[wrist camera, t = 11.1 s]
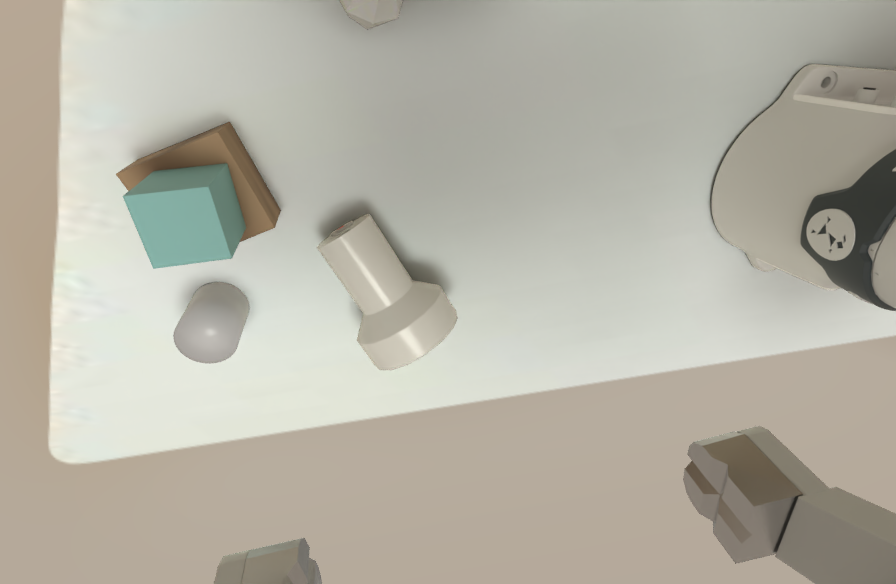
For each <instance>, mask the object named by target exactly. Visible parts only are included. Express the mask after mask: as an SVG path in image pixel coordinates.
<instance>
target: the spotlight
mask: <svg viewBox="0 0 896 584" xmlns="http://www.w3.org/2000/svg"><path fill="white" fill-rule="evenodd" d="M317 249H318V250H319V251H320V253H321V254H322V256H323V257H324V258H325V260H326V261H327V263H328V264H329V266H330V267H331V268H332V270H333V271H334V273H335V274H336V275H337V277H338V278H339V280H340V281H341V283H342V284H343V285H344V287H345V288H346V290H347V291H348V293H349V294H350V295H351V297H352V298H353V300H354V301H355V302H356V304H357V305H358V307H359V308H360V310H361V311H362V312H363V316H362V321H361V325H360V329H359V333H358V337H357V341H358V343H359V344H360V346H361V347H362V348H363V350H364V351H365V352H366V354H367V355H368V357H369V358H370V359H371V361H372V362H373V363H374V365H375V366H376V367H377V368H378V369H379V370H393V369H396V368H399V367H402V366H405V365H408V364H410V363H412V362H413V361H415V360H417V359H419V358H420V357H422V356H424V355H426V354H427V353H428V352H429V351H431V350H432V349H433V348H434V347H436V346H437V345H438V344H440V343H441V342H442V341H443V340H444V339H445V337H446V336H447V335H448V334H449V333H450V332H451V330H452V329H453V328H454V325H455V323H456V321H457V319H458V317H457V313H456V310H455V309H454V307H453V306H452V304H451V302H450V301H449V299H448V298H447V296H446V294H445V293H444V291H443V290H442V288H441V286H440V285H436V284H432V283H425V282H419V281H413V280H412V279H411V277H410V276H409V274H408V273H407V271H406V269H405V268H404V266H403V265H402V263H401V262H400V260H399V259H398V257H397V256H396V254H395V252H394V251H393V249H392V248H391V246H390V245H389V243H388V242H387V240H386V238H385V237H384V235H383V234H382V232H381V231H380V229H379V228H378V226H377V224H376V223H375V221H374V220H373V218H372V217H371V215H370V214H366V215H364V216H361V217H359V218H358V219H356V220H354V221H352V220H351V221H349V222H348V223H346V224H345V225H343V226H341V227H340V228H338V229H337V230H335V231H334V232H332V233H331V234H330V236H329V237H328V238H326V239H325V240H324V241H322V242H321V243H320V244H319V245H318V246H317Z"/></svg>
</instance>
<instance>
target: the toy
mask: <svg viewBox="0 0 896 584" xmlns="http://www.w3.org/2000/svg"><path fill="white" fill-rule="evenodd" d="M339 1H340V3H341V4H342V6H343V8H344V9H345V11H346V13H347V14H348V16H349V17H350V18H351V19H353V20H354V21H356V22H357V23H359V24H360V25H362V26H363V27H364V28H366V29H370V28H373V27H375V26H378V25H381V24H384V23H386V22H389V21H392V20H395V19H397V18H399V14H400V10H401V5H402V1H403V0H339Z"/></svg>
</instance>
